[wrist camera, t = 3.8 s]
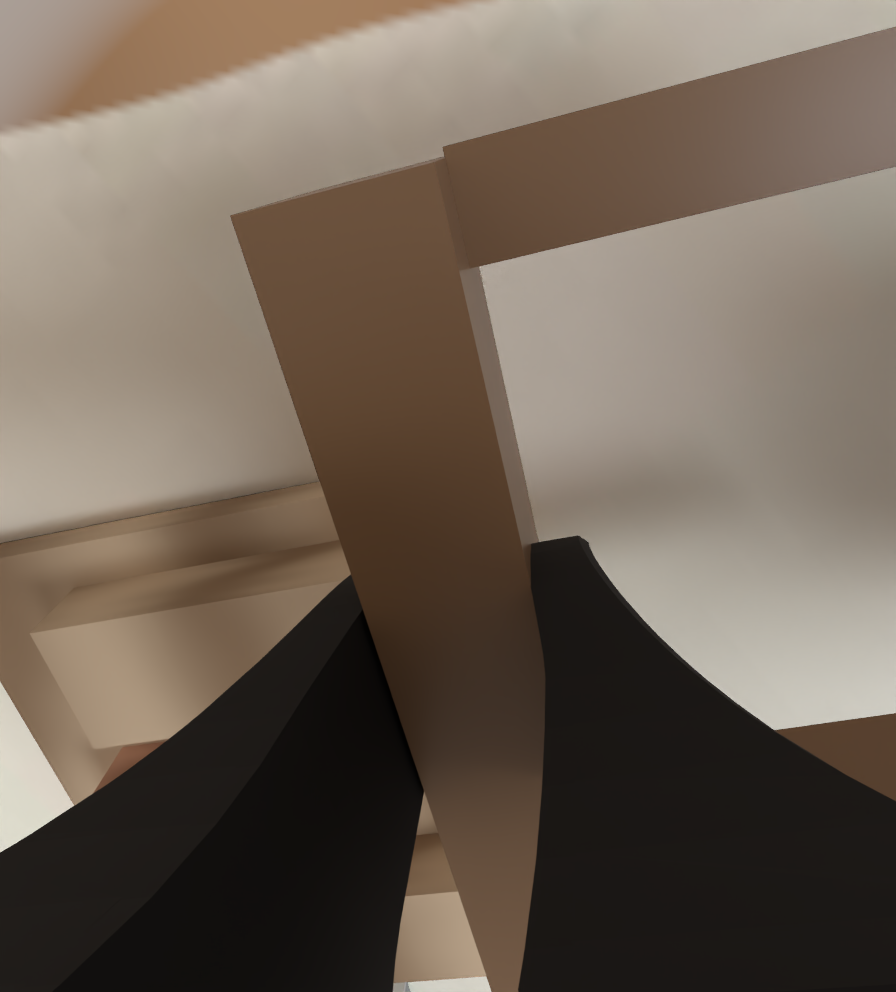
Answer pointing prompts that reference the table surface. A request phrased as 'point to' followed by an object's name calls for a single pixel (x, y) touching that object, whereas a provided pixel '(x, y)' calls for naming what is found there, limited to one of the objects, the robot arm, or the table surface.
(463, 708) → the wooden c-shaped piece
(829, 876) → the robot arm
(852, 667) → the table surface
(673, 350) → the table surface
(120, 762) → the wooden u-shaped block
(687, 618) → the table surface
